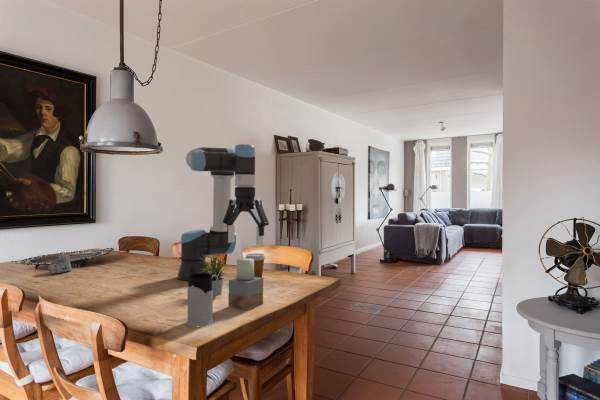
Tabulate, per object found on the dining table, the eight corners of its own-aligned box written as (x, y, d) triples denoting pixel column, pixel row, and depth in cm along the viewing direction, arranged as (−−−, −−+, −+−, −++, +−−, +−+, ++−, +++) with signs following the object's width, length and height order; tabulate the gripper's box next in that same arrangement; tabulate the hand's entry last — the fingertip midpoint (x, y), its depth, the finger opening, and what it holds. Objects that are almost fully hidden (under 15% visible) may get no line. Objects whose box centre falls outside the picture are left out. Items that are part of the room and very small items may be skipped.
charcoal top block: (228, 293, 132) (228, 280, 132) (245, 288, 140) (244, 275, 139) (247, 297, 127) (247, 283, 127) (263, 291, 135) (263, 278, 135)
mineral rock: (50, 276, 182) (49, 256, 181) (40, 274, 188) (40, 254, 187) (77, 272, 192) (77, 253, 192) (67, 269, 198) (67, 251, 198)
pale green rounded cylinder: (244, 276, 138) (244, 258, 138) (257, 277, 134) (257, 259, 135) (233, 279, 132) (233, 260, 133) (246, 280, 129) (246, 260, 129)
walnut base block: (228, 307, 132) (228, 293, 132) (244, 301, 140) (244, 288, 139) (247, 311, 127) (247, 297, 127) (262, 304, 135) (262, 291, 135)
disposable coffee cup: (266, 277, 179) (266, 253, 179) (263, 281, 169) (262, 256, 169) (248, 276, 180) (248, 253, 180) (243, 281, 170) (243, 256, 170)
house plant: (193, 291, 153) (193, 252, 153) (226, 287, 159) (225, 250, 159) (198, 299, 140) (197, 258, 140) (233, 295, 146) (233, 255, 145)
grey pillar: (180, 325, 113) (180, 277, 113) (207, 311, 126) (207, 269, 126) (203, 328, 110) (203, 280, 110) (228, 314, 123) (228, 270, 123)
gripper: (213, 186, 136) (213, 242, 137) (265, 186, 123) (265, 247, 124) (227, 187, 143) (227, 240, 143) (278, 186, 130) (278, 244, 130)
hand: (245, 243), depth 133 cm, fingers open, 13 cm apart
